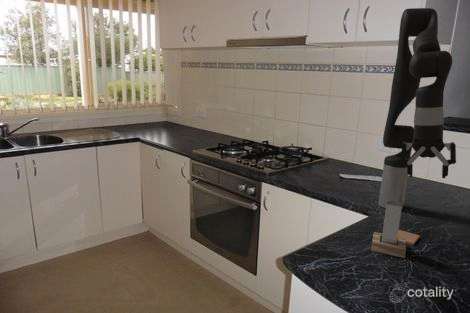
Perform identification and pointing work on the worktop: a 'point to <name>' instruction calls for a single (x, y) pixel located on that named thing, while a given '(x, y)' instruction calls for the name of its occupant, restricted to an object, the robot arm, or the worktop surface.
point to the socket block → (388, 246)
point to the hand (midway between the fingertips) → (426, 177)
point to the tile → (408, 237)
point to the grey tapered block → (391, 222)
